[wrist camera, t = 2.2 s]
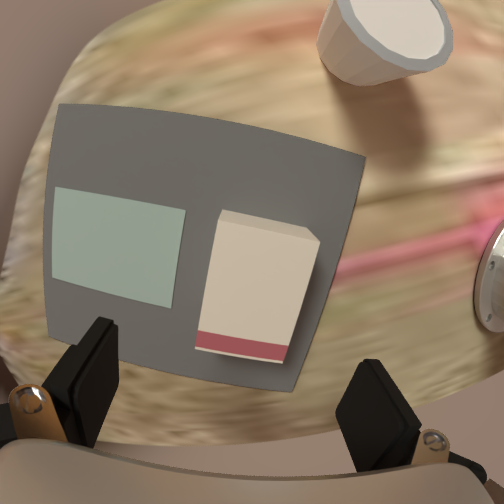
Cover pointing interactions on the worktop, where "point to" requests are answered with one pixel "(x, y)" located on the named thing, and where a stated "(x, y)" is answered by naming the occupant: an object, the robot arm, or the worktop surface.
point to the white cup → (383, 39)
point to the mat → (178, 228)
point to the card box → (255, 286)
